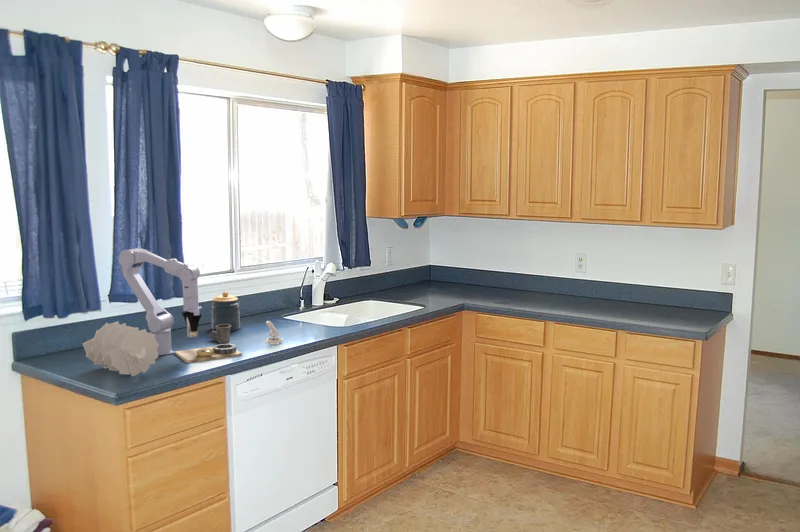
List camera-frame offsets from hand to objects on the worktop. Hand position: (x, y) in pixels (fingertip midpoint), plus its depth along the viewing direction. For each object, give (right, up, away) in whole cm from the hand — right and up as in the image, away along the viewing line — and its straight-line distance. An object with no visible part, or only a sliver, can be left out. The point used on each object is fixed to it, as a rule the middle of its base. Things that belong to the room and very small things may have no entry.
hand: (192, 330), depth 275 cm
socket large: (+12, -10, +4) cm, 16 cm away
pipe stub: (0, -2, 0) cm, 2 cm away
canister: (+1, -4, +49) cm, 49 cm away
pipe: (+5, -8, +22) cm, 24 cm away
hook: (+28, -8, +25) cm, 38 cm away
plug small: (+6, -11, -3) cm, 12 cm away
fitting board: (+6, -10, +3) cm, 12 cm away
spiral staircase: (-19, -13, -22) cm, 32 cm away
